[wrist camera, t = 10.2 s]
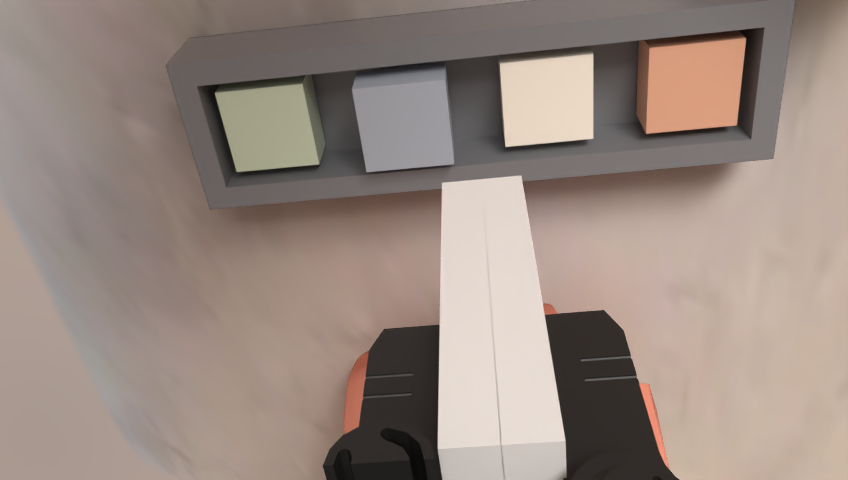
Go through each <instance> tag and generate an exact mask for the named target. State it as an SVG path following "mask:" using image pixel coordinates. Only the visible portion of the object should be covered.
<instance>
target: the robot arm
mask: <svg viewBox="0 0 848 480" xmlns="http://www.w3.org/2000/svg"><path fill="white" fill-rule="evenodd" d="M323 468H324V472H325V475H326V479H327V480H679V479H678V478H676V477H675V476H674V475H673V473H672V472H671V471H670V470H669V469H668V467H667V466H666V465H665V463H664V461H663V459H662V456H661V454H660V452H659V449H658V445H657V442H656V439H655V435H654V432H653V428H652V425H651V422H650V418H649V415H648V412H647V408H646V405H645V401H644V398H643V395H642V391H641V388H640V385H639V381H638V379H637V376H636V371H635V368H634V364H633V361H632V359H631V354H630V351H629V347H628V344H627V341H626V337H625V334H624V331H623V329H622V328H621V327H620V326H619V325H618V324H617V323H616V322H615V321H614V320H613V319H612V318H611V317H610V316H609V315H608V314H607V313H606V312H605V311H604V310H600V311H587V312H574V313H561V314H548V315H545V314H544V308H543V302H542V296H541V290H540V284H539V278H538V272H537V266H536V260H535V254H534V248H533V242H532V236H531V230H530V224H529V218H528V212H527V206H526V200H525V194H524V188H523V182H522V176H510V177H499V178H488V179H477V180H467V181H456V182H445V183H442V217H441V277H440V325H430V326H417V327H404V328H391V329H384V330H383V331H382V333H381V334H380V336H379V337H378V339H377V340H376V341H375V343H374V344H373V346H372V347H371V349H370V350H369V353H368V360H367V368H366V380H365V383H364V390H363V400H362V406H361V413H360V421H359V427H357V428H355V429H353V430H352V431H350V432H348V433H346V434H344V435H343V436H342V437H341V438H340V439H339V440H338V441H337V442H336V443H335V444H334V445H333V446H332V447H331V448H330V450H329V452H328V455H327V457H326V459H325V462H324V464H323Z"/></svg>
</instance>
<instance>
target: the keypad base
mask: <svg viewBox="0 0 848 480" xmlns="http://www.w3.org/2000/svg"><path fill="white" fill-rule="evenodd" d="M794 7H795V0H533V1H524V2H515V3H506V4H497V5H488V6H478V7H469V8H460V9H451V10H442V11H433V12H424V13H415V14H405V15H396V16H387V17H378V18H369V19H360V20H351V21H342V22H332V23H323V24H314V25H305V26H296V27H287V28H278V29H269V30H259V31H250V32H241V33H232V34H223V35H214V36H205V37H196V38H189V39H188V40H187V41H186V42H185V44H184V45H183V46H182V47H181V48H180V49H179V50H178V52H177V53H176V54H175V55H174V56H173V57H172V58H171V59H170V61H169V62H168V63H167V64H166V68H167V72H168V75H169V78H170V81H171V85H172V88H173V91H174V94H175V98H176V101H177V104H178V107H179V111H180V114H181V117H182V120H183V124H184V127H185V130H186V133H187V137H188V140H189V143H190V146H191V150H192V153H193V156H194V159H195V163H196V166H197V169H198V172H199V176H200V179H201V182H202V185H203V189H204V192H205V195H206V198H207V202H208V205H209V208H210V209H221V208H232V207H243V206H254V205H265V204H277V203H288V202H299V201H310V200H321V199H332V198H344V197H355V196H366V195H377V194H388V193H399V192H411V191H422V190H433V189H442V183H445V182H456V181H467V180H477V179H488V178H499V177H510V176H522V181H533V180H544V179H556V178H567V177H578V176H589V175H600V174H611V173H623V172H634V171H645V170H656V169H667V168H678V167H689V166H701V165H712V164H723V163H734V162H745V161H756V160H768V159H773V158H774V151H775V144H776V136H777V129H778V122H779V115H780V108H781V100H782V93H783V86H784V79H785V72H786V65H787V57H788V50H789V43H790V36H791V29H792V21H793V14H794ZM734 30H738V31H739V32H740V33H741V34H742V35H743V36H744V37H745V38H746V45H745V54H744V63H743V73H742V82H741V91H740V100H739V110H738V119H737V125H735V126H724V127H713V128H703V129H692V130H681V131H671V132H660V133H649V134H646V133H645V131H644V129H643V127H642V125H641V123H640V121H639V119H638V117H637V115H636V108H637V77H638V46H639V40H648V39H657V38H667V37H676V36H686V35H696V34H705V33H715V32H725V31H734ZM580 46H590V48H591V50H592V52H593V139H585V140H575V141H564V142H553V143H543V144H532V145H521V146H510V147H505V140H504V133H503V125H502V110H501V96H500V81H499V66H498V55H503V54H513V53H523V52H532V51H542V50H551V49H561V48H571V47H580ZM440 62H446V71H447V80H448V90H449V99H450V109H451V118H452V128H453V137H454V164H451V165H441V166H430V167H419V168H408V169H397V170H386V171H375V172H366V166H365V161H364V155H363V149H362V144H361V138H360V132H359V127H358V121H357V115H356V110H355V104H354V98H353V93H352V87H353V84H354V80H355V77H356V73H357V71H363V70H372V69H382V68H391V67H401V66H411V65H420V64H430V63H440ZM301 75H312V80H313V85H314V90H315V95H316V99H317V104H318V109H319V114H320V119H321V124H322V129H323V134H324V139H325V143H326V145H325V148H324V151H323V154H322V158H321V161H320V164H318V165H308V166H297V167H286V168H275V169H265V170H254V171H243V172H236V168H235V164H234V161H233V157H232V154H231V150H230V146H229V143H228V139H227V136H226V132H225V128H224V125H223V121H222V118H221V114H220V110H219V107H218V103H217V100H216V96H215V92H216V90H217V89H218V87H219V86H220V84H224V83H234V82H244V81H253V80H263V79H272V78H282V77H292V76H301Z"/></svg>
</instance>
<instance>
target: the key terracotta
mask: <svg viewBox="0 0 848 480" xmlns="http://www.w3.org/2000/svg"><path fill="white" fill-rule="evenodd" d="M745 45H746V38H745V37H744V36H743V35H742V34H741V33H740V32H739V31H738V30H734V31H725V32H715V33H705V34H696V35H686V36H676V37H667V38H657V39H648V40H639V46H638V77H637V108H636V115H637V117H638V119H639V121H640V123H641V125H642V127H643V129H644V131H645V133H646V134H649V133H660V132H671V131H681V130H692V129H703V128H713V127H724V126H735V125H737V119H738V110H739V100H740V91H741V82H742V73H743V63H744V54H745Z"/></svg>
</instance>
